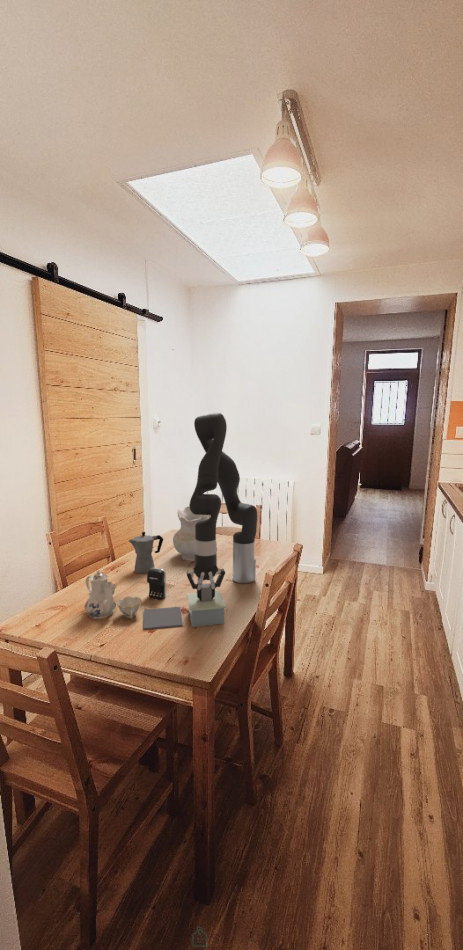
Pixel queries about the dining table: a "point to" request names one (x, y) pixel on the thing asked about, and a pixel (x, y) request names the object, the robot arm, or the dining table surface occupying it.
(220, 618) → the square storage bin
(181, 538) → the ceramic pitcher
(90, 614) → the chinaware
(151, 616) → the mat
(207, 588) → the cover
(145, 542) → the coffeepot
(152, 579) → the black battery charger
